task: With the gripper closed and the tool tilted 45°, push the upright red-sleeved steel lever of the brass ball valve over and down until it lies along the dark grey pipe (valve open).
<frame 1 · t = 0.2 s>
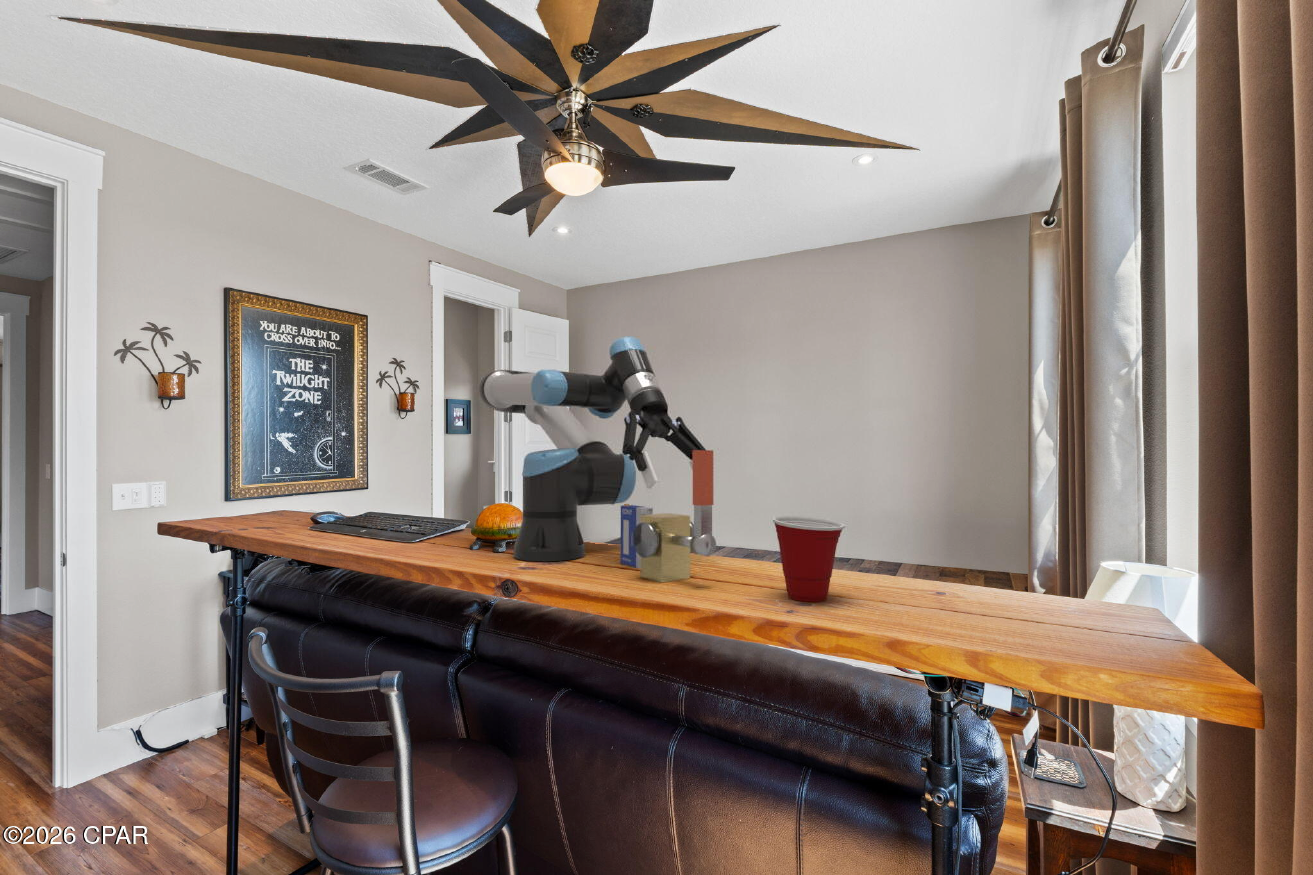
hand: (680, 485, 111), 16 cm above the table, tool tilted 35°, fingers open, 13 cm apart
walkman: (636, 566, 115), on the table
valve lever: (703, 502, 95), point 14 cm above the table, hinge at 0.0°
valve pipe: (665, 577, 103), on the table
plastic cup: (808, 599, 88), on the table
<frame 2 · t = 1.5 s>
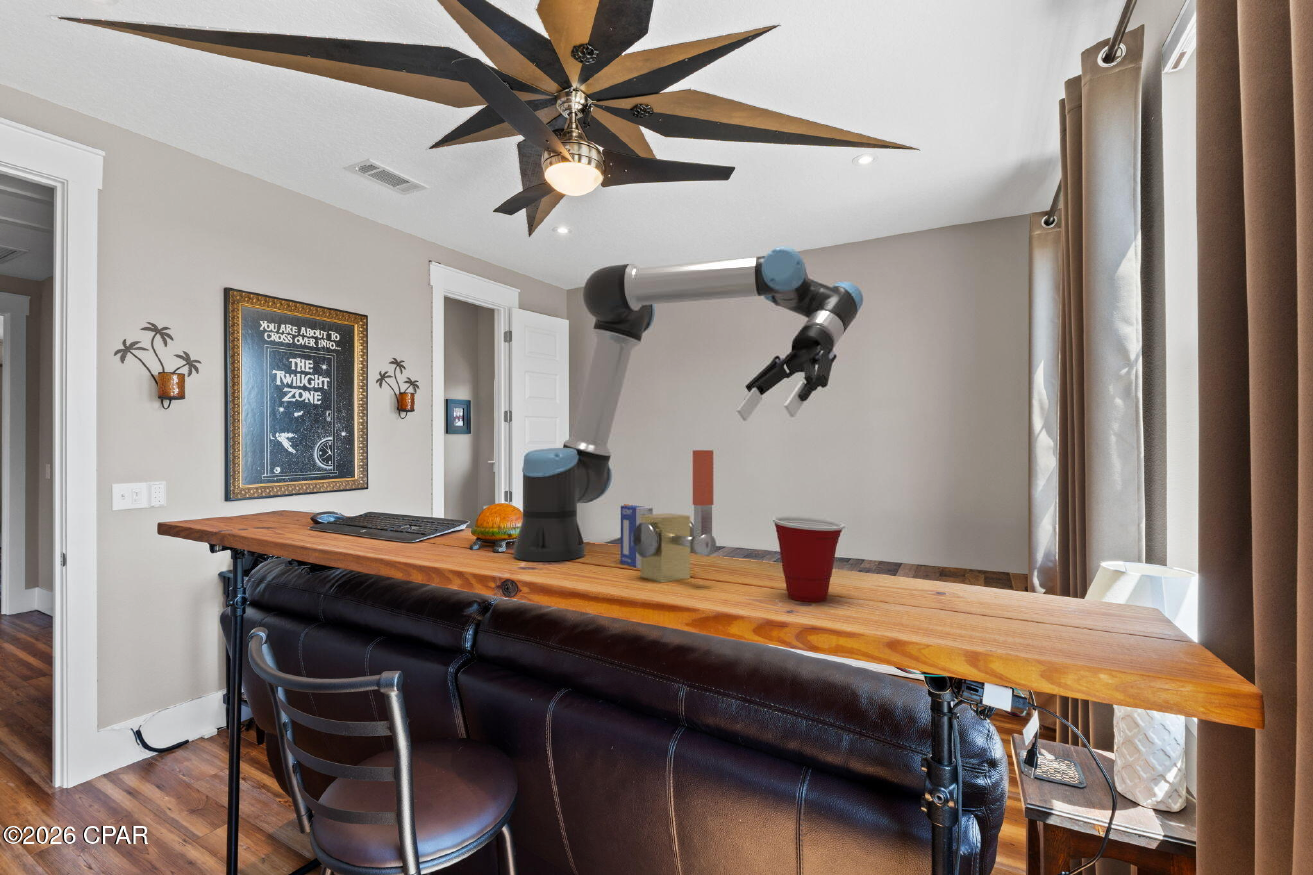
hand: (764, 413, 105), 29 cm above the table, tool tilted 45°, fingers open, 11 cm apart
nothing on the table moved.
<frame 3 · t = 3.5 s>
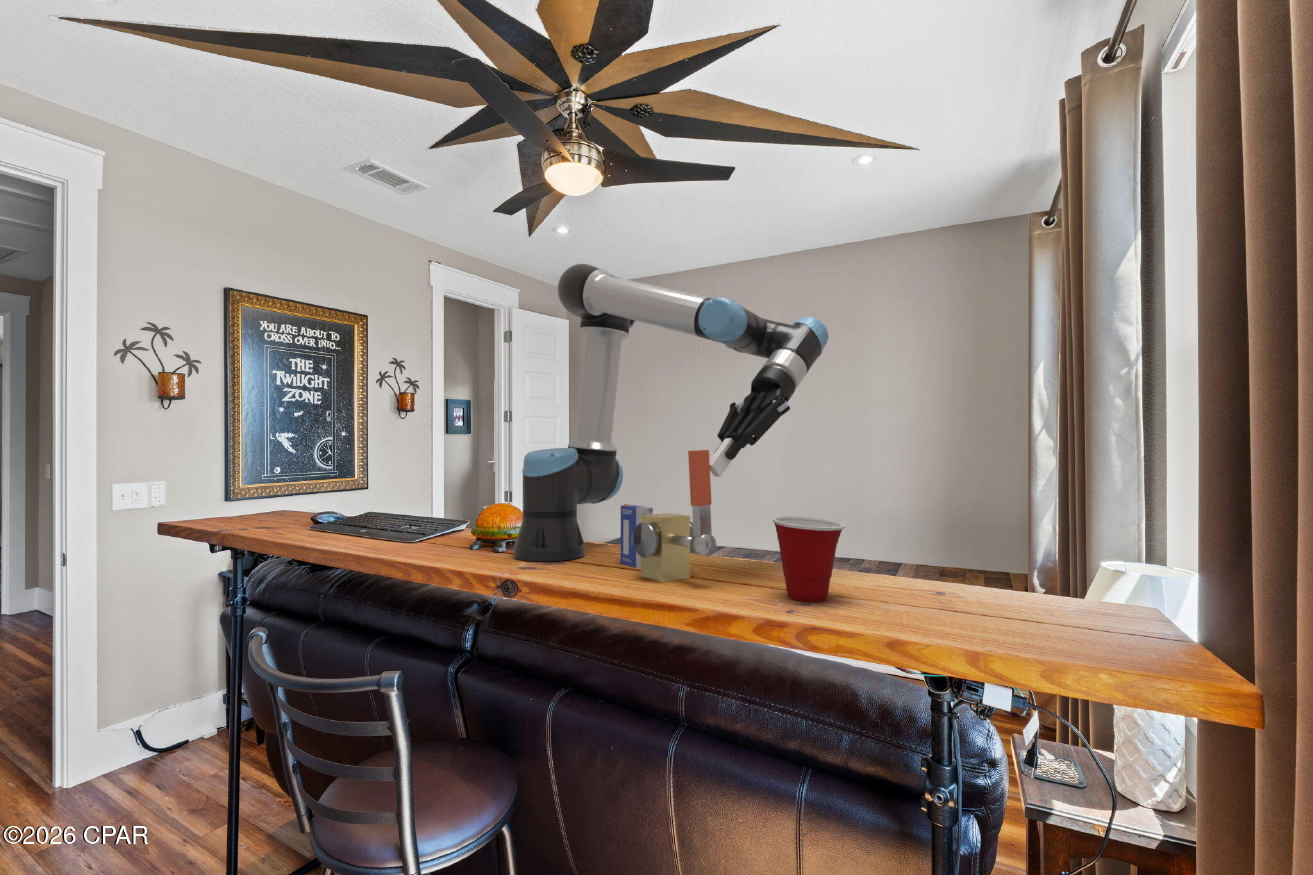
hand: (713, 470, 96), 19 cm above the table, tool tilted 45°, fingers closed
valve lever: (701, 502, 95), point 14 cm above the table, hinge at 3.7°
everything else where it was.
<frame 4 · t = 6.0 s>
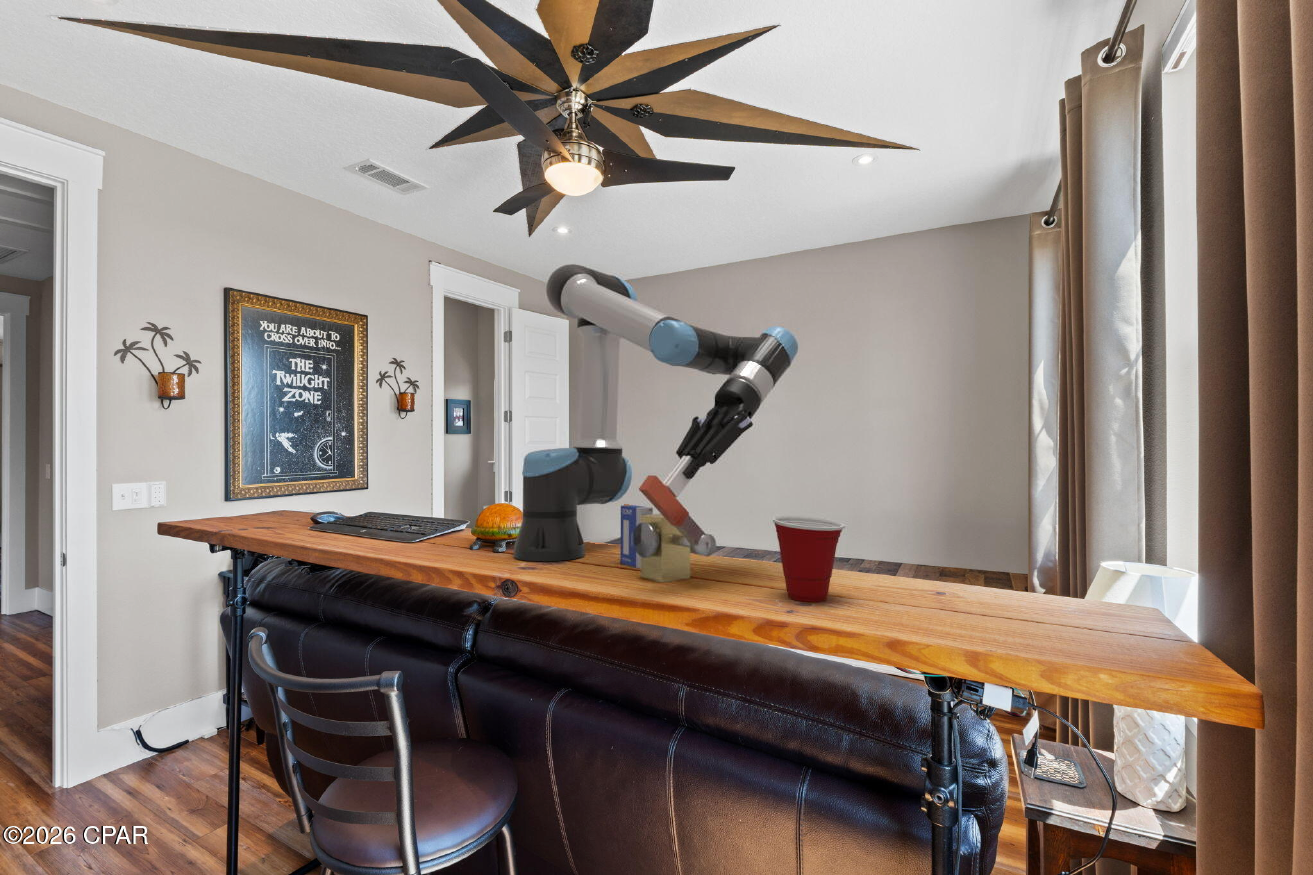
hand: (669, 491, 91), 16 cm above the table, tool tilted 45°, fingers closed
valve lever: (679, 518, 92), point 12 cm above the table, hinge at 47.7°, touching gripper
everything else where it was.
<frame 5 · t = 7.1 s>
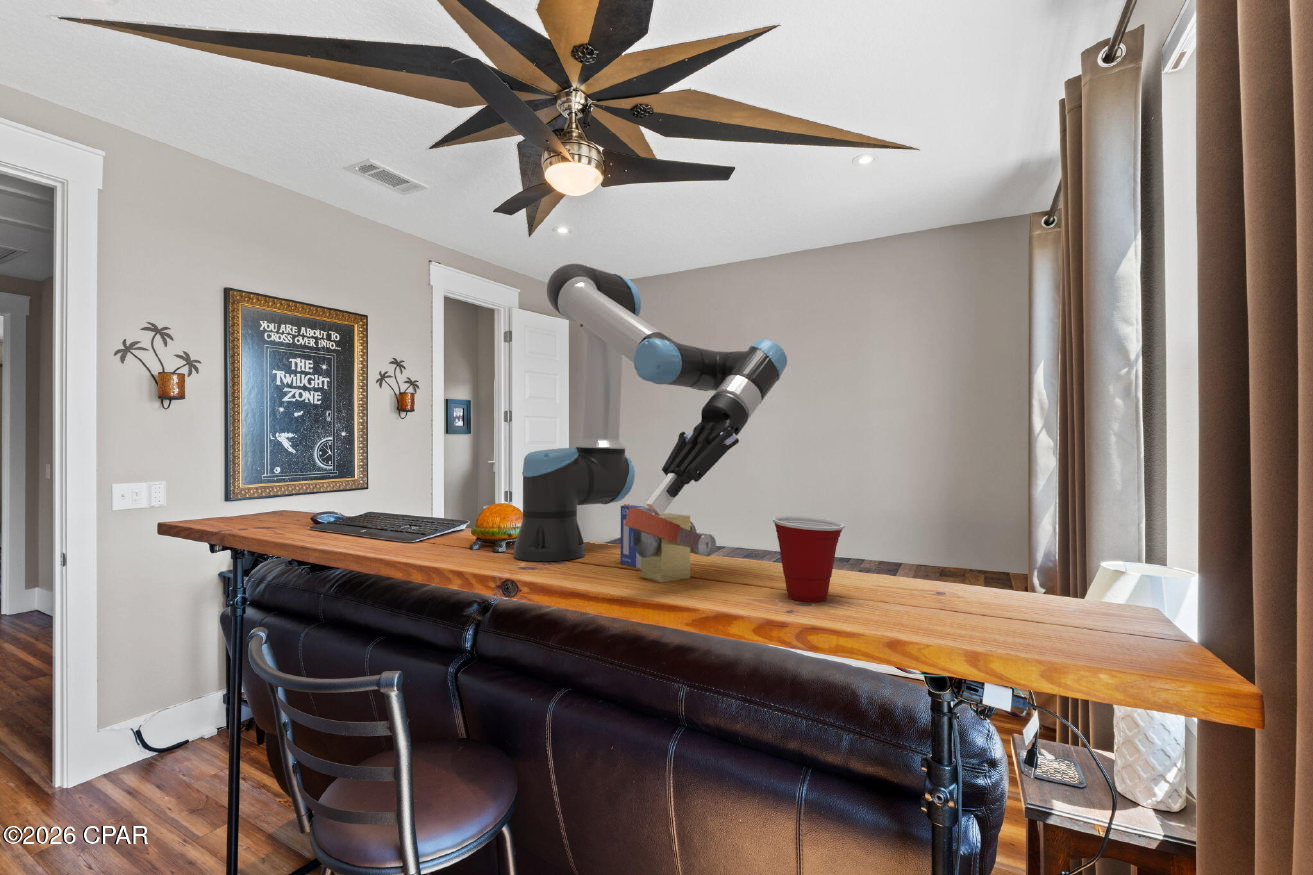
hand: (653, 509, 89), 13 cm above the table, tool tilted 45°, fingers closed
valve lever: (672, 532, 91), point 9 cm above the table, hinge at 69.8°, touching gripper
everything else where it was.
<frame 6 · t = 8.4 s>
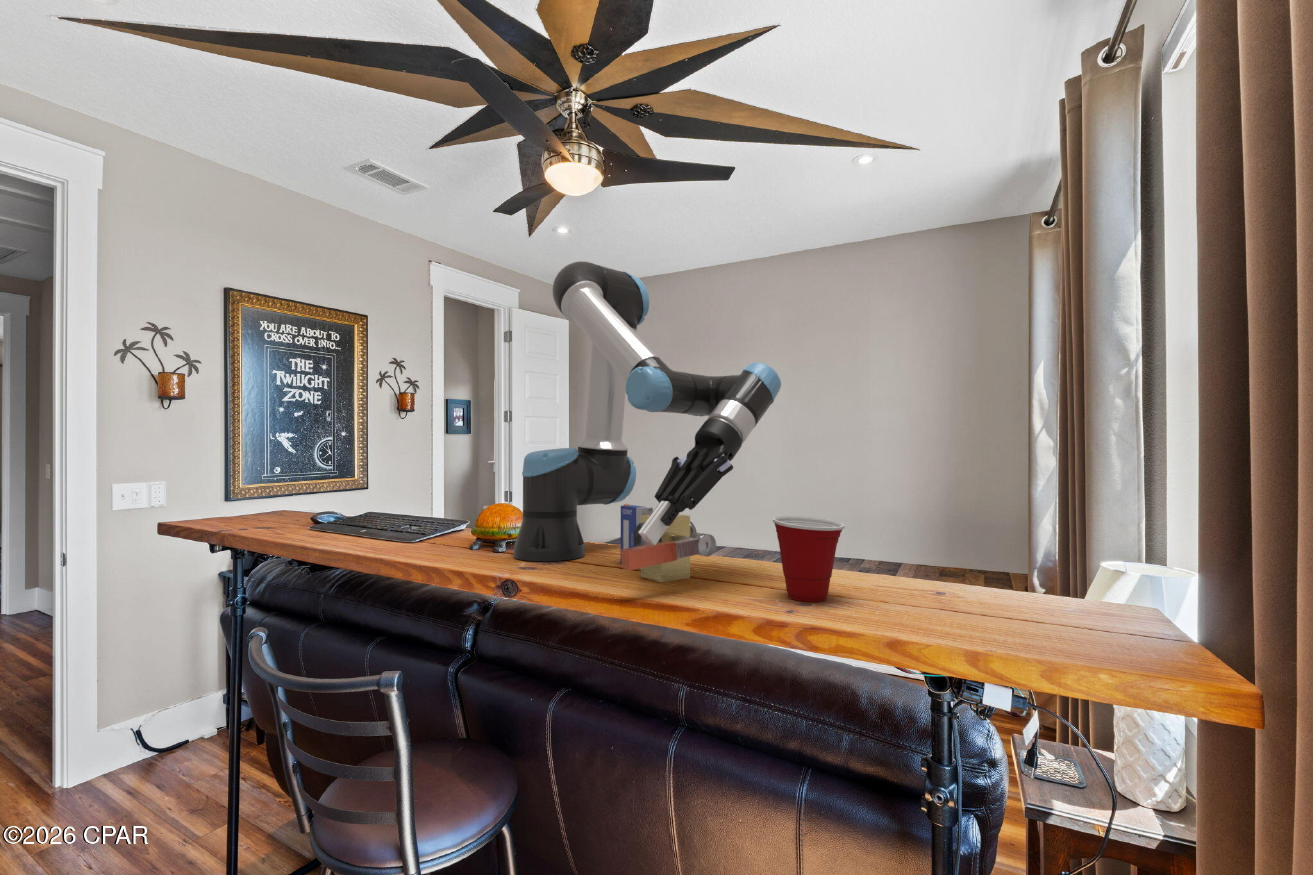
hand: (646, 538, 88), 9 cm above the table, tool tilted 45°, fingers closed
valve lever: (670, 550, 91), point 7 cm above the table, hinge at 93.5°, touching gripper
everything else where it was.
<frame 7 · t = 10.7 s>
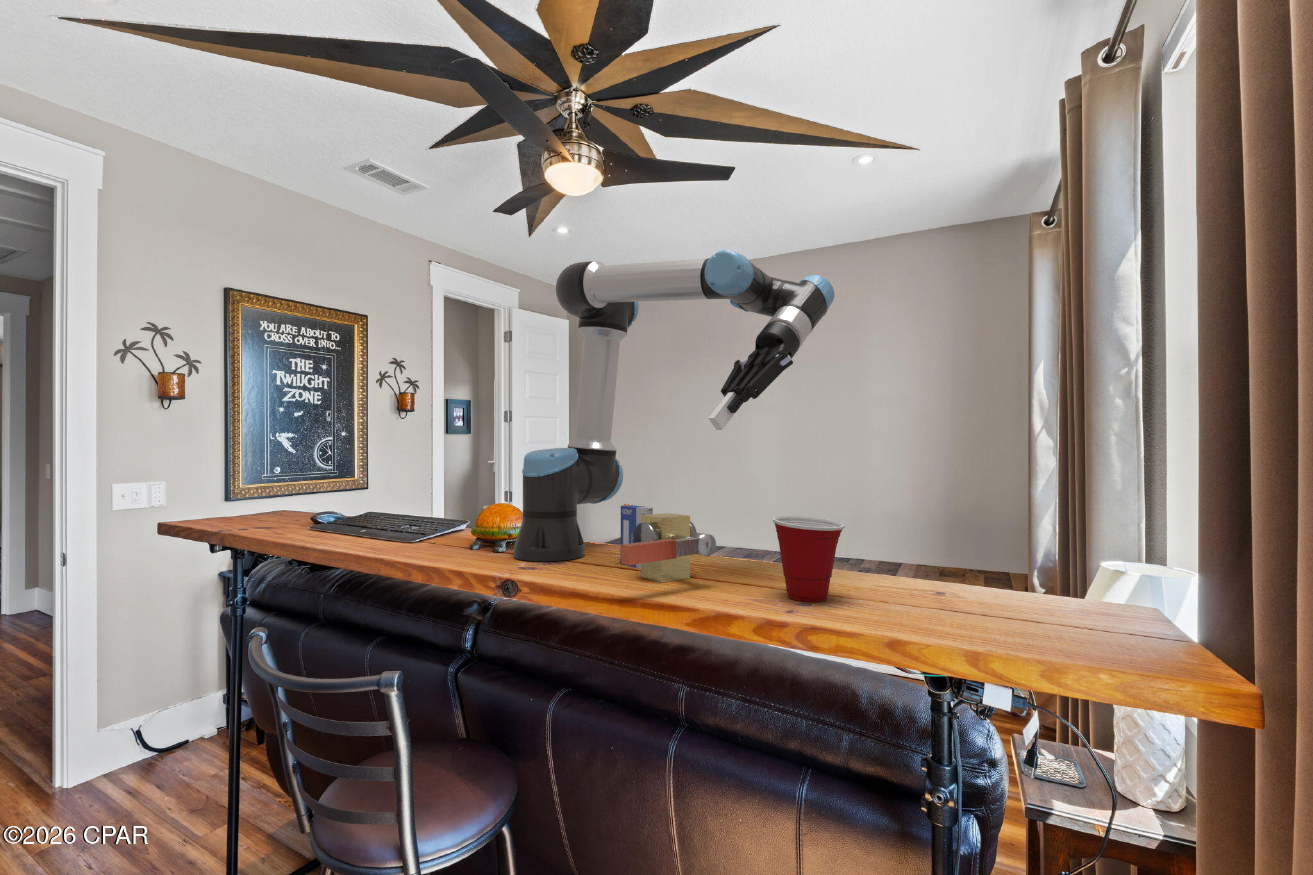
hand: (715, 423, 97), 27 cm above the table, tool tilted 45°, fingers closed
valve lever: (670, 548, 91), point 7 cm above the table, hinge at 90.7°
everything else where it was.
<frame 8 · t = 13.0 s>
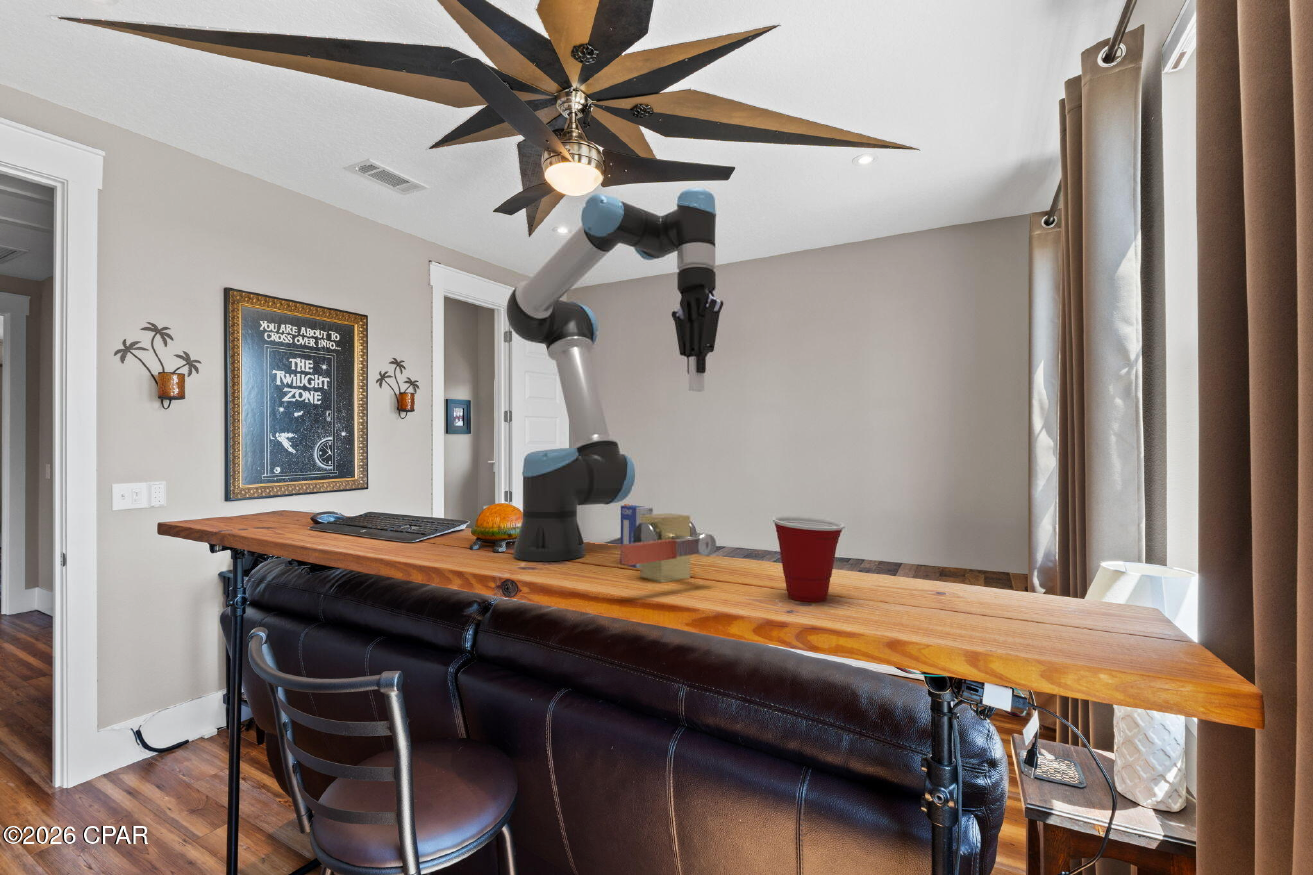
hand: (696, 390, 113), 34 cm above the table, tool pointing down, fingers closed
nothing on the table moved.
at the end: valve lever at +91° (first picture: +0°); the gripper is holding nothing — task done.
